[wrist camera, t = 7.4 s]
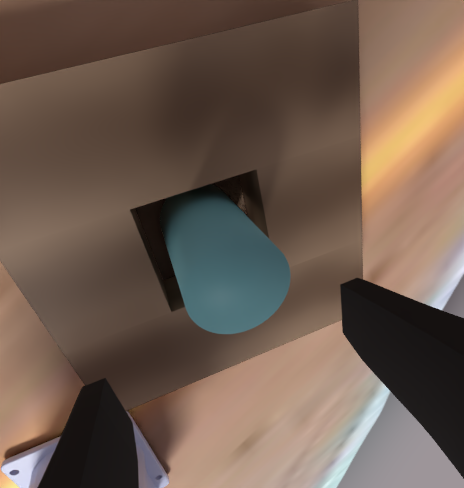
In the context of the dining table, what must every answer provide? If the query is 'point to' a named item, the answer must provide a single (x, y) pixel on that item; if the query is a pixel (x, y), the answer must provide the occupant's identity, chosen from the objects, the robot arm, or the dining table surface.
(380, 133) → the dining table surface
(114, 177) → the socket block
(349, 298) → the robot arm
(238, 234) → the peg
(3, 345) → the dining table surface
